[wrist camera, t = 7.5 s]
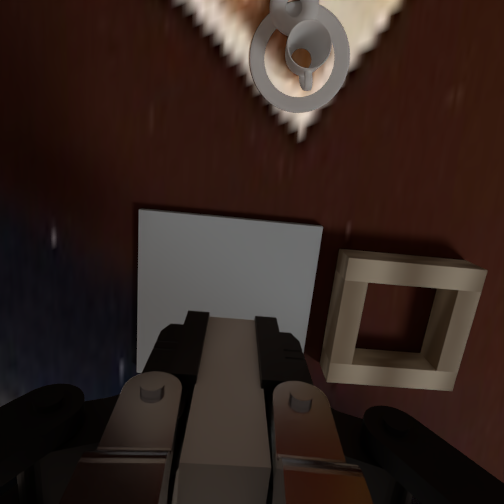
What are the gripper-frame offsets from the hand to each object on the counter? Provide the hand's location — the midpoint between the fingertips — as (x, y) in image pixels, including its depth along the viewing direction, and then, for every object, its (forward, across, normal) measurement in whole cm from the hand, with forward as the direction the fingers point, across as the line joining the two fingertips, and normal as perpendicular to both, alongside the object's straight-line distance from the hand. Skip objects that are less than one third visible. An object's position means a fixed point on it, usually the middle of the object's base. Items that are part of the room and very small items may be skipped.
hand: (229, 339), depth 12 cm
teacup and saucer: (+20, -6, -16) cm, 27 cm away
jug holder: (+19, -16, +7) cm, 26 cm away
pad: (+19, 0, +7) cm, 21 cm away
